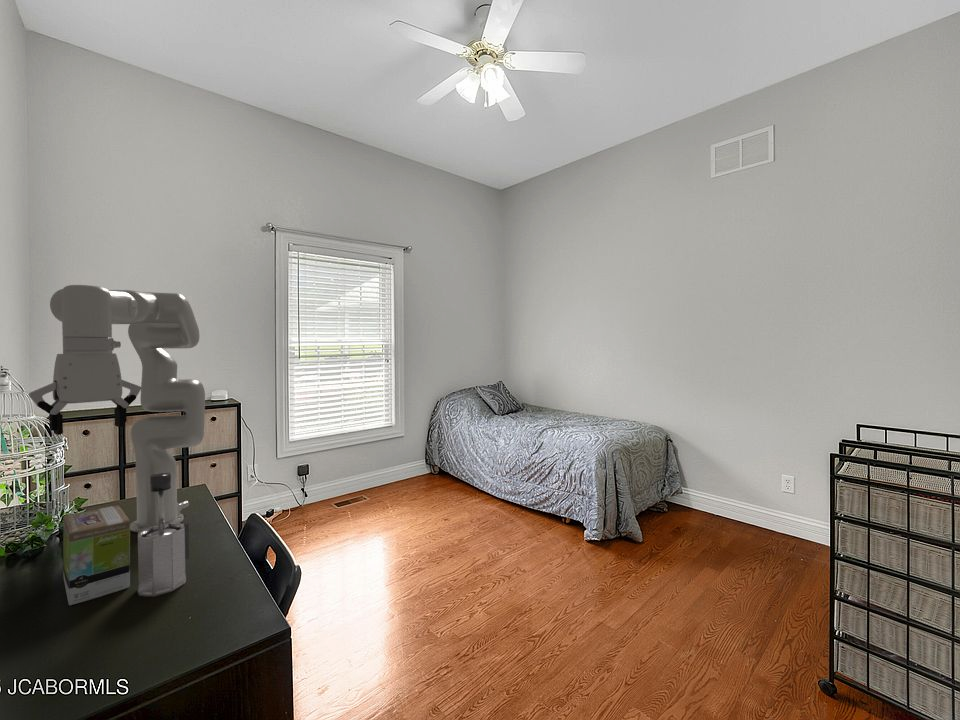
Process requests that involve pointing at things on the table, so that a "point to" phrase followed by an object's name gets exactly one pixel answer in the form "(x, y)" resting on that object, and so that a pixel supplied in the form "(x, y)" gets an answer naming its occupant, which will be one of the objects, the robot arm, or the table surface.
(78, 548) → the tea box
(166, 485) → the plunger
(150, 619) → the table surface
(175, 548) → the carafe
